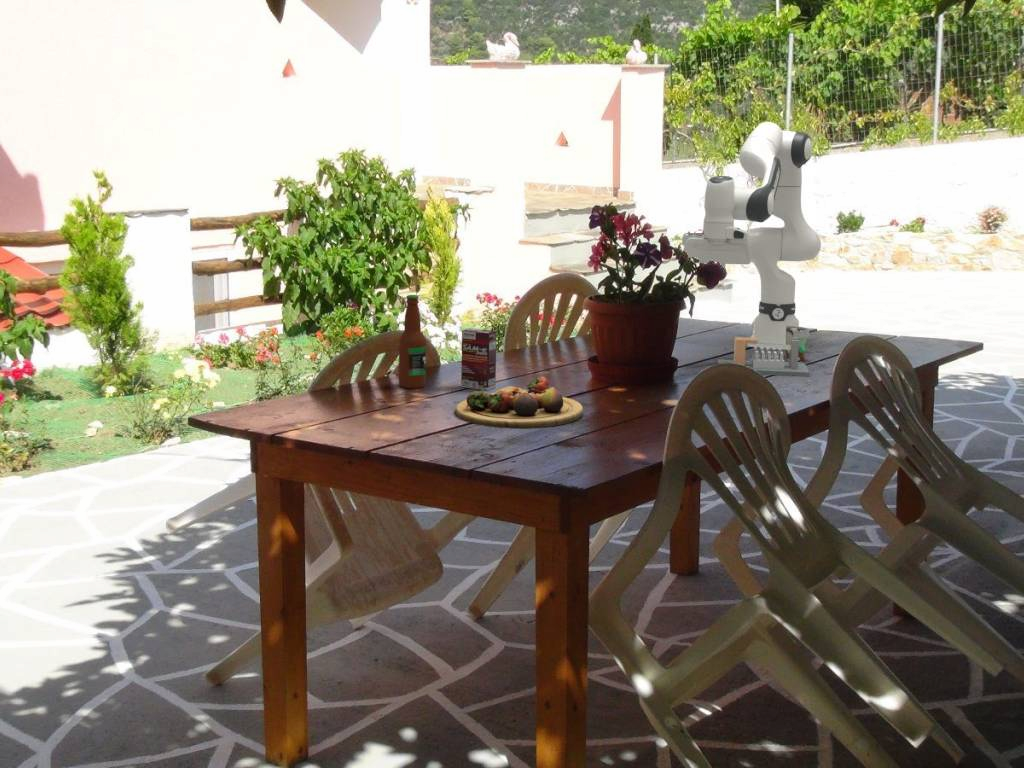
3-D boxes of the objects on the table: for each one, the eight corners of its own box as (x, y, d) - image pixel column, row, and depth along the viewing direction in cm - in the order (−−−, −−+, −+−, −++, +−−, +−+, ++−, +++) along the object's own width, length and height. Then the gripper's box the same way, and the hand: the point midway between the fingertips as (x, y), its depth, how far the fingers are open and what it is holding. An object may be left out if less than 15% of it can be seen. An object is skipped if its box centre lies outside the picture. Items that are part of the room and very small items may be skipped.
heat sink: (717, 363, 393) (719, 332, 392) (804, 366, 390) (806, 335, 388) (719, 372, 378) (720, 340, 376) (809, 376, 375) (811, 344, 373)
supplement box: (460, 387, 350) (460, 330, 347) (469, 384, 354) (469, 327, 351) (488, 390, 346) (488, 332, 343) (496, 387, 350) (497, 330, 347)
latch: (733, 361, 388) (734, 336, 386) (755, 362, 387) (756, 337, 385) (734, 365, 382) (735, 339, 380) (756, 366, 381) (757, 340, 380)
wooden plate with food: (510, 396, 342) (510, 365, 340) (608, 412, 322) (609, 380, 320) (428, 417, 317) (428, 385, 316) (529, 437, 298) (529, 402, 296)
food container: (811, 364, 395) (813, 332, 393) (791, 363, 395) (793, 331, 393) (803, 357, 407) (805, 326, 405) (784, 356, 407) (786, 325, 405)
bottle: (417, 389, 346) (417, 297, 341) (394, 387, 349) (393, 296, 344) (430, 385, 352) (430, 294, 347) (407, 382, 355) (407, 293, 350)
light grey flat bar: (746, 345, 385) (746, 340, 384) (796, 349, 383) (796, 344, 383) (746, 346, 382) (747, 342, 382) (796, 351, 380) (797, 346, 380)
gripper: (682, 231, 376) (680, 278, 379) (753, 233, 374) (750, 281, 376) (682, 230, 382) (680, 276, 385) (752, 232, 380) (749, 278, 382)
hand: (715, 278), depth 381 cm, fingers closed
